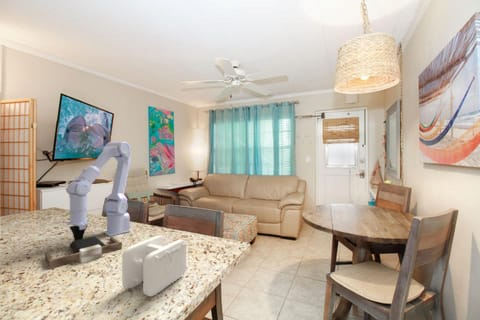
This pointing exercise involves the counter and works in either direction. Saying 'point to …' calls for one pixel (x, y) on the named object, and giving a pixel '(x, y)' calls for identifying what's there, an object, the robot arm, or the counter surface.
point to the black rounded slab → (85, 244)
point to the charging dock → (84, 254)
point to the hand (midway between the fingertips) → (78, 242)
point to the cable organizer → (153, 264)
